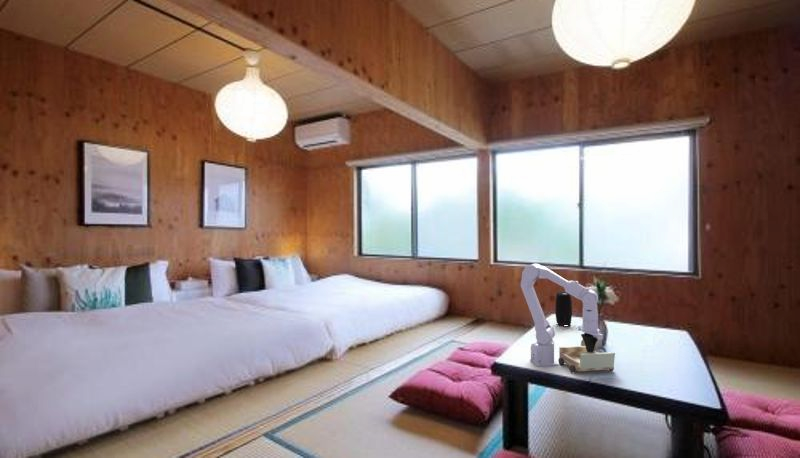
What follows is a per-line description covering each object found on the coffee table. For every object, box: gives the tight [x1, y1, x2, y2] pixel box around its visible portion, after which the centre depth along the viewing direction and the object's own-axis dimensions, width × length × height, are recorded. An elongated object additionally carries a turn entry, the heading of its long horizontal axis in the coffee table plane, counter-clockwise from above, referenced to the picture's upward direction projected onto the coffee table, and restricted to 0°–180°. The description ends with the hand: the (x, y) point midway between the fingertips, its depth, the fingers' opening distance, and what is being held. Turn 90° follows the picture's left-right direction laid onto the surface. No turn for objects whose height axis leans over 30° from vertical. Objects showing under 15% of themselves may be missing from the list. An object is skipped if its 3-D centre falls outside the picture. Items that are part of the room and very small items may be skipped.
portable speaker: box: [554, 291, 573, 326], centre depth 244 cm, size 9×9×20 cm
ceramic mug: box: [580, 338, 607, 353], centre depth 194 cm, size 11×8×8 cm
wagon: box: [557, 345, 615, 374], centre depth 173 cm, size 18×14×7 cm
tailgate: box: [579, 351, 616, 369], centre depth 165 cm, size 14×1×6 cm, turn 97°
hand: (590, 351), depth 170 cm, fingers closed
